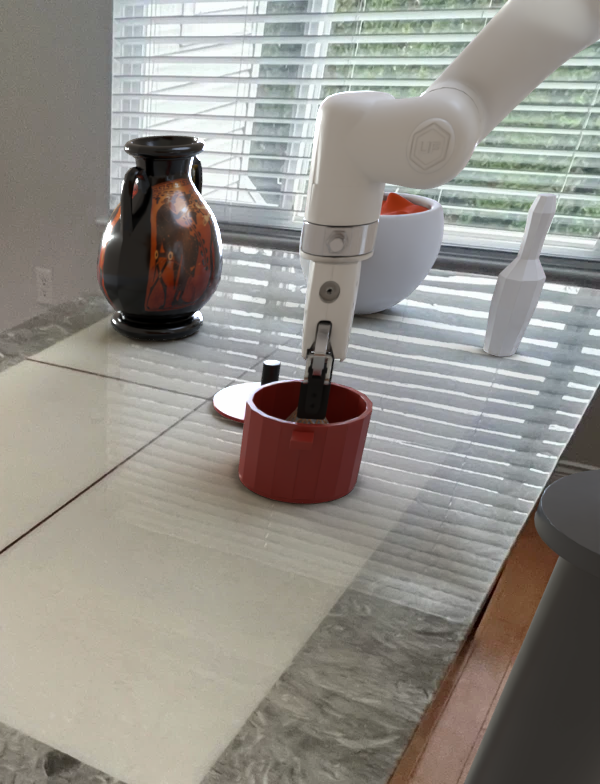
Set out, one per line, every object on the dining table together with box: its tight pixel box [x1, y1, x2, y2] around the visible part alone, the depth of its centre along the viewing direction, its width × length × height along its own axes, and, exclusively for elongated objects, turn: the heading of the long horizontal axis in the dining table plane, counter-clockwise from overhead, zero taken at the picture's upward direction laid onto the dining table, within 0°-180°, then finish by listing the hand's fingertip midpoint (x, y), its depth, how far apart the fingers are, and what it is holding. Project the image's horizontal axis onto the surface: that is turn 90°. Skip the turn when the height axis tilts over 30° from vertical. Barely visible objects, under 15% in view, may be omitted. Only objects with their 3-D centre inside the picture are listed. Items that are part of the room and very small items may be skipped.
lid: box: [212, 359, 282, 424], centre depth 120 cm, size 15×15×7 cm
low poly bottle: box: [482, 192, 557, 357], centre depth 129 cm, size 6×6×22 cm
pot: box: [298, 191, 445, 315], centre depth 150 cm, size 24×24×18 cm
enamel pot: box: [237, 378, 374, 505], centre depth 102 cm, size 14×20×10 cm
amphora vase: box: [96, 134, 224, 342], centre depth 141 cm, size 22×22×28 cm
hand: (313, 402), depth 99 cm, fingers open, 9 cm apart
